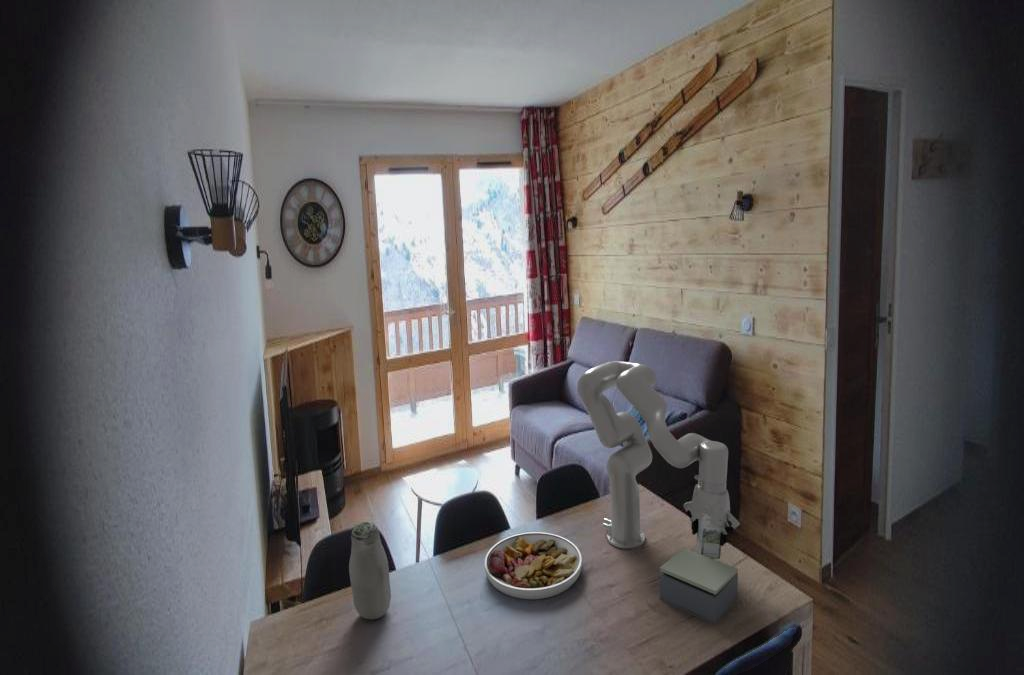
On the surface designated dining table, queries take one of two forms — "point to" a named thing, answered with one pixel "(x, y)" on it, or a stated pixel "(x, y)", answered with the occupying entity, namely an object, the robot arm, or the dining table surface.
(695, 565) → the lid
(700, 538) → the syrup box
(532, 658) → the dining table surface
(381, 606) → the grey rounded cylinder
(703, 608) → the storage box
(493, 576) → the bowl
